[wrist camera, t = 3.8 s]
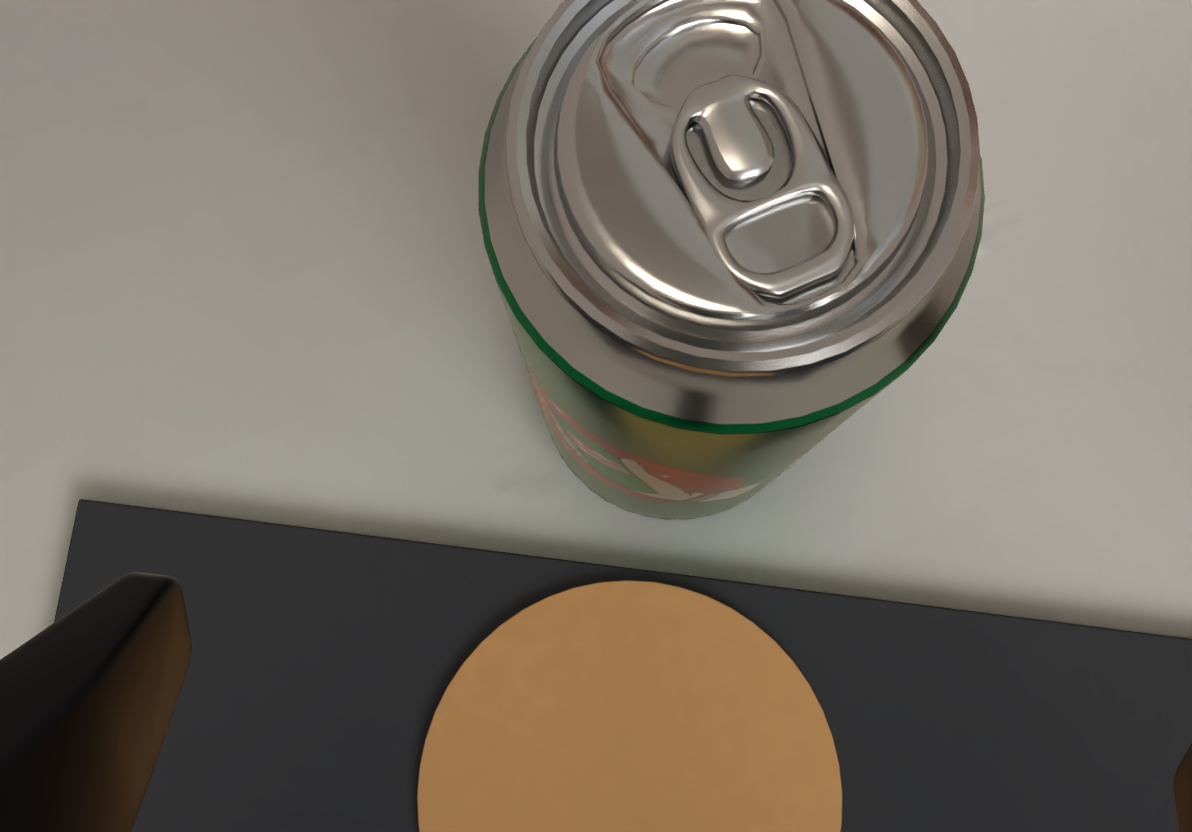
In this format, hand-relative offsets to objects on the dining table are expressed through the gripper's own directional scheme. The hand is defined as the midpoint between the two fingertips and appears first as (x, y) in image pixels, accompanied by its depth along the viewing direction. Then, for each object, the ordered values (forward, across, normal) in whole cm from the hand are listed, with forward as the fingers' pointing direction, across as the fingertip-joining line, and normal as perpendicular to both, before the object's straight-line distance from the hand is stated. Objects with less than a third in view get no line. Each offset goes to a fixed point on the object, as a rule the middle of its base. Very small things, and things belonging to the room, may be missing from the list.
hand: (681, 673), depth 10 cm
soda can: (+12, 0, +5) cm, 13 cm away
